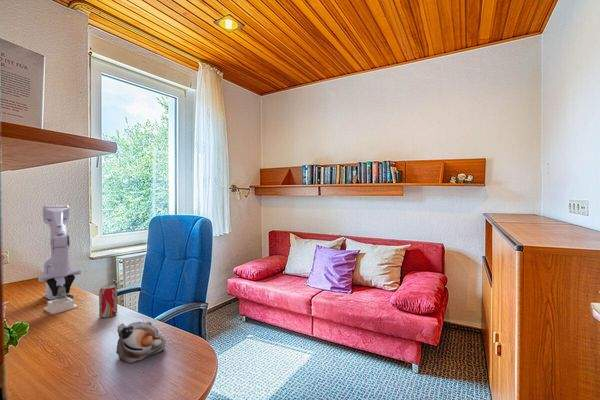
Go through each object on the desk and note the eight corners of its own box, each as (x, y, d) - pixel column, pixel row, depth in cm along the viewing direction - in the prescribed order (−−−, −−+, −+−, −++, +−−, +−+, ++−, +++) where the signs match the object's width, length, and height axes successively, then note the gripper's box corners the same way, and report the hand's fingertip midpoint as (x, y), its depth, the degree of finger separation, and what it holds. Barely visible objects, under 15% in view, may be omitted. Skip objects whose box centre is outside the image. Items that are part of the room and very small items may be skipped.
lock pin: (61, 296, 138) (61, 287, 138) (70, 294, 141) (70, 285, 141) (64, 298, 136) (64, 289, 136) (73, 296, 139) (73, 287, 139)
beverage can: (111, 318, 121) (110, 289, 121) (95, 318, 121) (95, 288, 121) (120, 312, 127) (120, 284, 127) (105, 312, 127) (105, 284, 127)
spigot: (53, 298, 131) (53, 285, 131) (64, 295, 134) (64, 283, 134) (57, 299, 129) (57, 287, 128) (68, 297, 132) (68, 284, 132)
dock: (41, 308, 132) (41, 300, 132) (70, 300, 141) (70, 293, 141) (51, 314, 125) (51, 306, 125) (81, 306, 134) (81, 298, 134)
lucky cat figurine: (173, 343, 101) (176, 314, 95) (151, 377, 90) (152, 347, 84) (132, 329, 102) (131, 299, 96) (105, 361, 91) (102, 330, 85)
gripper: (42, 267, 123) (42, 301, 123) (83, 261, 135) (84, 291, 135) (36, 265, 127) (37, 297, 127) (77, 259, 139) (77, 288, 139)
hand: (60, 294), depth 131 cm, fingers closed on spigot, 4 cm apart
